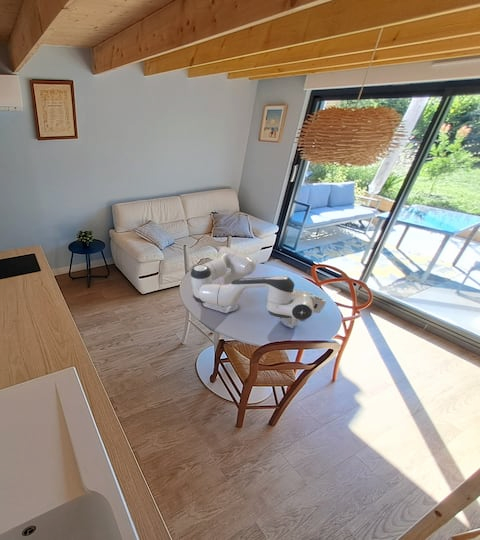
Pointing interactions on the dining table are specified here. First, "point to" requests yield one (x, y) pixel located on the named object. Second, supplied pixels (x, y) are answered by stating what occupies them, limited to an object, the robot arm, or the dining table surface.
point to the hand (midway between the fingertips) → (300, 292)
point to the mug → (290, 322)
